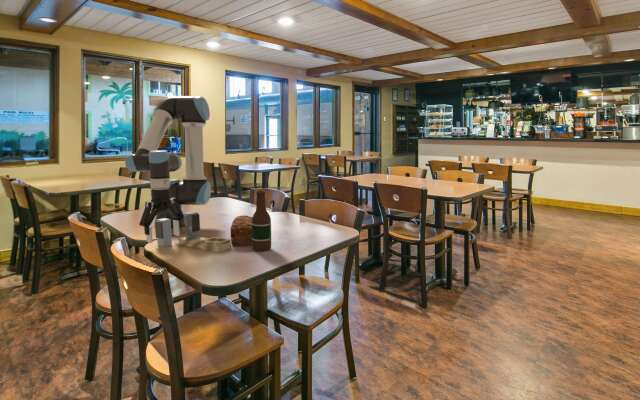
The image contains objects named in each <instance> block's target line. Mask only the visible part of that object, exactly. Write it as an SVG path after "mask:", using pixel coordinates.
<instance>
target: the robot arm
mask: <svg viewBox="0 0 640 400" xmlns="http://www.w3.org/2000/svg"><path fill="white" fill-rule="evenodd" d="M210 115H211V114H210V108H209V103H208V100H207V99H206V98H205V97H204V96H198V95H184V96H183V95H181V96H180V95H173V96H170V97H167V98H166V99H164V100H162V101H160V103H159V104H158V105H157V106H156V107H155V108H154V110H153V112H152V116H151V117H152V119H151V121H150V123H149V125H148V127H147V129H146V131H145V133H144V136H143V137H142V139H141V141H140V143H139V145H138V148H137V150H136V151H135V152H134V153H129V154H128V155H126V156H125V159H124V160H125V161H124V162H125V163H124V165H125V168H127V170H128V171H129V172H137V173H139V172H140V173H141V172H142V173H143V172H145V173H146V172H149V180H150V181H149V183H150V188H151V189H150V197H151V199H152V200H151V201H145V202H144V205H145V206H144V210H143V213H142V215H141V219H140V221H139V226H140V227H143V230H144V235H145V236H146V242H147V243H151V244H152V243H154V242H153V230H152V229H153V227H152V226H151V224H152V223H153V221H154V222H155V221H156V220H158V219H162V218H167V219H171V228H173V235H174V236H180V227H182V226H185V219H184V212H183V209H182V206H204V205H207V204H208V202H209V200H210V198H211V194H212V186H211V185H212V184H211V183H210V182H208V179H207V177H206V176H205V175H204V173H205V171H204V170H205V169H204V134H203V133H204V131H203V130H204V129H203V128H204V127H205V126H206V123H207V121H209V120H210V117H211V116H210ZM174 121H180V122H181V125H182V126H183V127H184V151H185V155H184V157H185V176H184V177H183V178H182V181H181V179H180V178H173V179H171V178H170V177H171V176H170V173H172V172H173V173H175V172H176V171H178V170H180V169H181V167H182V165H183V162H182V161H183V160H182V158H181V157H180V155H177V154H175V153H169V152H168V151H167V150H158V149H159V147H160V145H161V143H162V141H163V138H164V136H165V134H166V131H167V129H168V127H169V126H170V125H172V123H174Z"/></svg>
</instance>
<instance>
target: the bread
mask: <svg viewBox="0 0 640 400" xmlns="http://www.w3.org/2000/svg"><path fill="white" fill-rule="evenodd" d="M252 217H253V216H249V215H238V216H236V217H235V218H233V221H232V223H231V226H230V232H229V233H230V242H231V246H237V247H241V246H252Z"/></svg>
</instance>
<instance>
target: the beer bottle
mask: <svg viewBox="0 0 640 400" xmlns="http://www.w3.org/2000/svg"><path fill="white" fill-rule="evenodd" d="M255 195H256V208H255V212H254V213H253V214H252V216H251V217H252V245H251V248H252V250H253V251H254V252H263V253H264V252H268V251H270V250H271V249H272V220H271V215H270V214H269V212H268V210H267V205H266V191H264V190H257V191H256V194H255Z"/></svg>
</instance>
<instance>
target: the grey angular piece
mask: <svg viewBox="0 0 640 400" xmlns="http://www.w3.org/2000/svg"><path fill="white" fill-rule="evenodd" d="M183 214H184V219H185V225H184V232H185V233H184V234H185V236H184V237H179V238H178V245H180V246H185V247H190V248H195V249H199V250H203V251H204V250H205V251H210V252H214V253H222V252H225V251H227V250H231V249H232V242H231V238H230V239H229V238H224V237H220V236H219V237H218V236H213V237H211V238H208V237H203V236H200V231H201V222H200V221H201V220H200V213H199V212H196V211H190V212H183Z"/></svg>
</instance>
